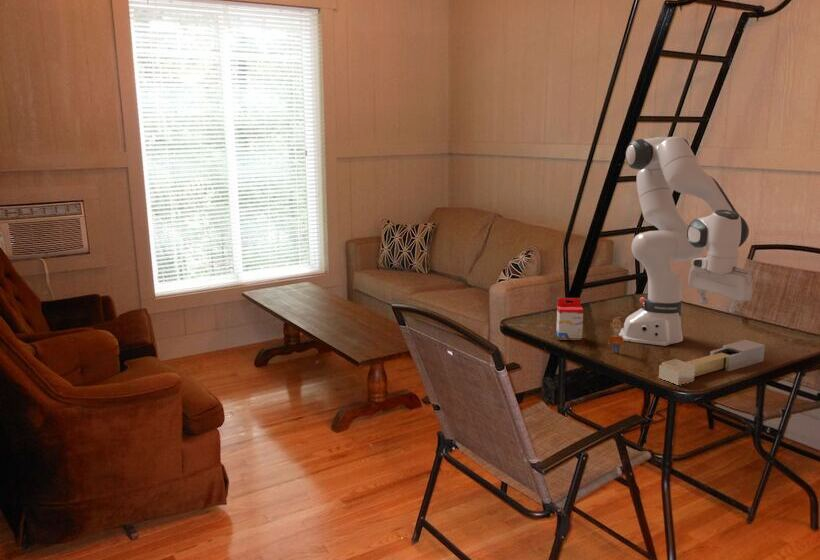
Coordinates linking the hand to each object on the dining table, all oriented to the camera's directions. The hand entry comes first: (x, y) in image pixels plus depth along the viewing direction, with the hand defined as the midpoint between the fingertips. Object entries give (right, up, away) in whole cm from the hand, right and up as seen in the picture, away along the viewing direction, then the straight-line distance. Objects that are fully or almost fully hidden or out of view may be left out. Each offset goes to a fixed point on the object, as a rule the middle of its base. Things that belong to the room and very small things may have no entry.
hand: (716, 307), depth 207 cm
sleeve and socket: (-1, -19, +2) cm, 19 cm away
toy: (-25, -16, +19) cm, 36 cm away
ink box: (-37, -13, +35) cm, 53 cm away
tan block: (-5, -20, -1) cm, 20 cm away
